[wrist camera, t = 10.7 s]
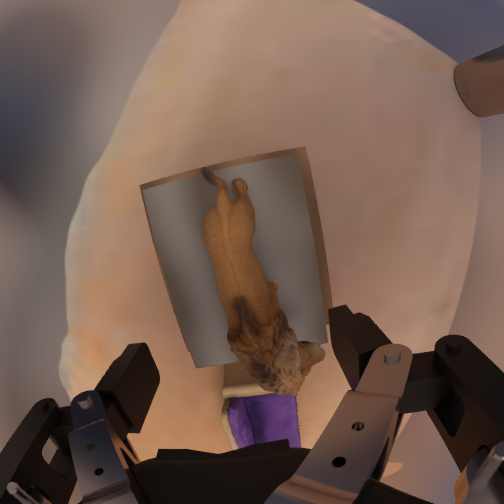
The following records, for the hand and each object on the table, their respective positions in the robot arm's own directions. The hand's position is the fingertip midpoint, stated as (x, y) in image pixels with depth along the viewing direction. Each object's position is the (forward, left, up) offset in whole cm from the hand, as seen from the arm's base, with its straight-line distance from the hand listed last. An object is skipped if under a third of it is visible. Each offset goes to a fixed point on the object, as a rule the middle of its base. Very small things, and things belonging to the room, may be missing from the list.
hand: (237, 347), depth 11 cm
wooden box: (0, 0, -21) cm, 21 cm away
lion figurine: (-1, -1, -11) cm, 11 cm away
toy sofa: (+2, +25, -21) cm, 33 cm away
